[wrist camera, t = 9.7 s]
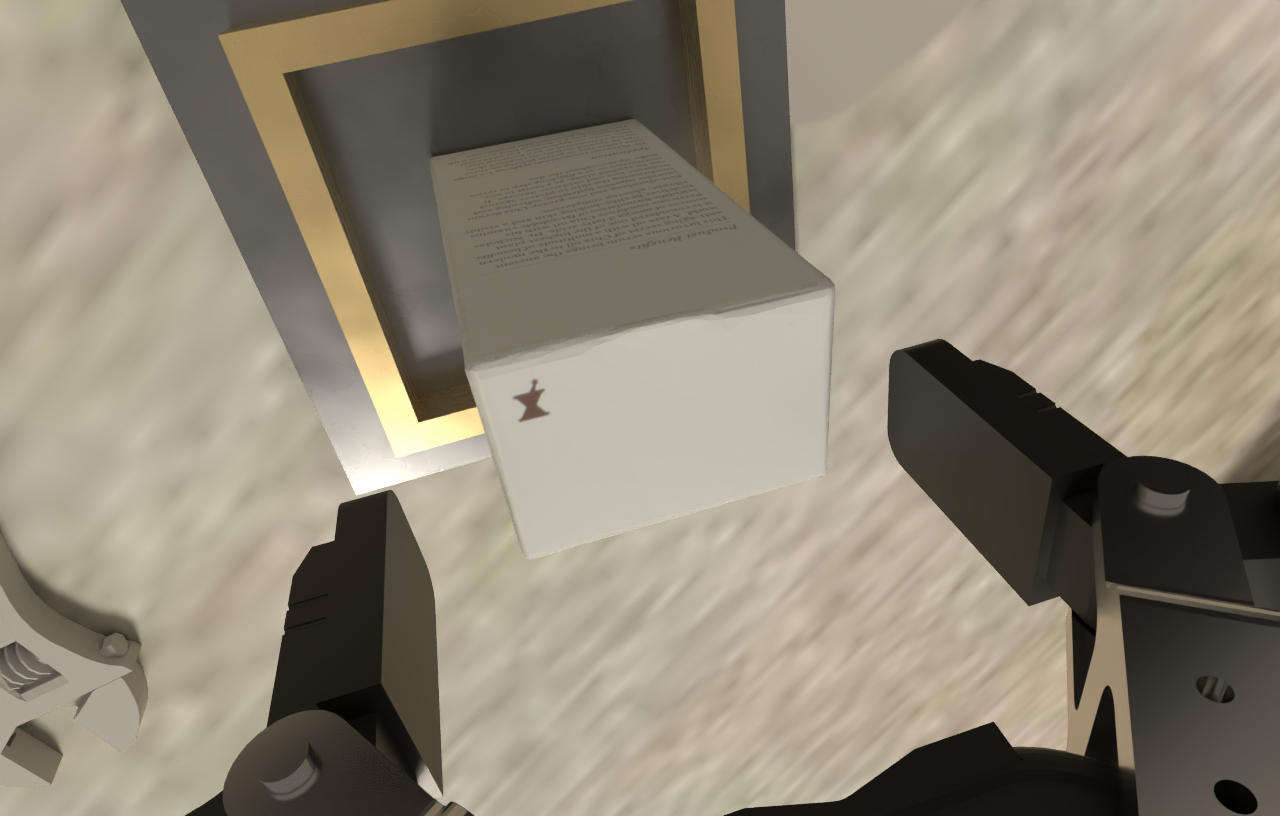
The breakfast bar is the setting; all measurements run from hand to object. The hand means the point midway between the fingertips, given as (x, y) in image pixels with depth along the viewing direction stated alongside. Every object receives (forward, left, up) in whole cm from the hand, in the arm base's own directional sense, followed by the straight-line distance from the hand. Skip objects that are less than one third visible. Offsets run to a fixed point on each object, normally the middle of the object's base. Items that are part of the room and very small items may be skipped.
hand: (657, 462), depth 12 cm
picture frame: (0, 0, -14) cm, 14 cm away
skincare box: (0, 0, -13) cm, 13 cm away
